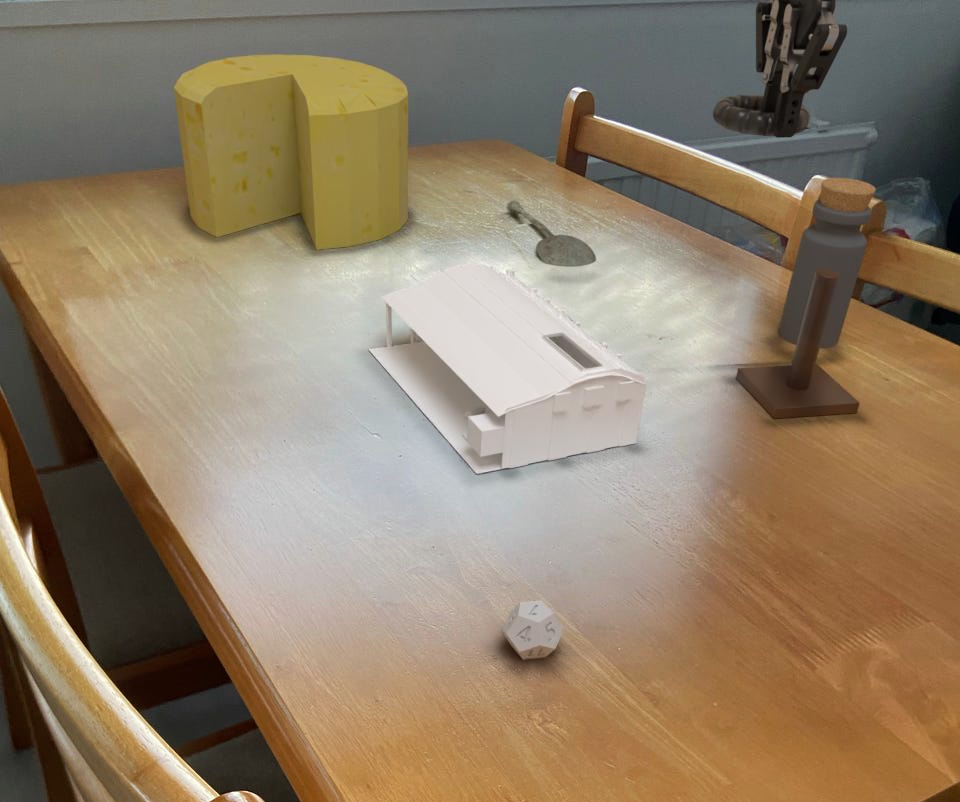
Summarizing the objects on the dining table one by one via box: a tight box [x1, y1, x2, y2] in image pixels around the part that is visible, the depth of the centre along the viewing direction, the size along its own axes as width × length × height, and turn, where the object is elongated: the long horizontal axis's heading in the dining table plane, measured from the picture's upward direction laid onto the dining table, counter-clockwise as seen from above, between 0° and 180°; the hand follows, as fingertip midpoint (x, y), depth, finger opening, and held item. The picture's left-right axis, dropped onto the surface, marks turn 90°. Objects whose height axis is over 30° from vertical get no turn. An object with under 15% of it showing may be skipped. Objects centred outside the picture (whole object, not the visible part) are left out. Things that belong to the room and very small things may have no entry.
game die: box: [501, 599, 564, 661], centre depth 61 cm, size 4×4×3 cm
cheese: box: [173, 53, 409, 251], centre depth 118 cm, size 26×26×15 cm
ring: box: [712, 94, 811, 137], centre depth 99 cm, size 9×9×2 cm
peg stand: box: [735, 269, 860, 419], centre depth 87 cm, size 8×8×11 cm
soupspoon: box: [506, 199, 597, 268], centre depth 118 cm, size 22×3×7 cm
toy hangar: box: [368, 261, 647, 475], centre depth 86 cm, size 25×15×7 cm, turn 25°
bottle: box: [777, 177, 876, 350], centre depth 95 cm, size 6×6×15 cm
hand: (775, 131), depth 96 cm, fingers closed on ring, 2 cm apart
